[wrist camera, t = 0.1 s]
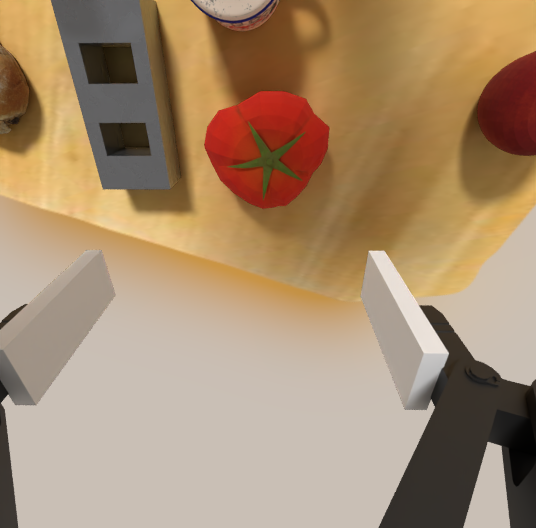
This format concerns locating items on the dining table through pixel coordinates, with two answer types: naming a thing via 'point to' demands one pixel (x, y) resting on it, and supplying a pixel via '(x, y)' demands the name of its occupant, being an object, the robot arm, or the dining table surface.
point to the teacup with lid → (238, 12)
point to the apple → (511, 107)
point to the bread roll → (11, 91)
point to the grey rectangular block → (121, 89)
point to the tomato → (267, 147)
